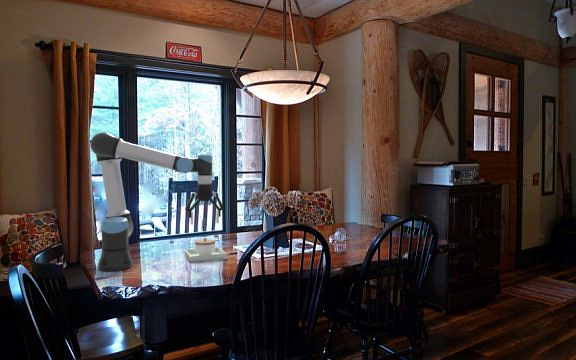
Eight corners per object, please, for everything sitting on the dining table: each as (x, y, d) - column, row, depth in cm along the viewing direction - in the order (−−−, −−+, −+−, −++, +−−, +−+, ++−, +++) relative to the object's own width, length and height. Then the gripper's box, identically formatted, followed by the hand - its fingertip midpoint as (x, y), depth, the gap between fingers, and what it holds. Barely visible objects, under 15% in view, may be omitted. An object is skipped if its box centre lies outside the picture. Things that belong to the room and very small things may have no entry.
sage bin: (190, 262, 206) (190, 256, 206) (184, 254, 223) (184, 249, 223) (226, 259, 213) (226, 253, 213) (218, 252, 230) (218, 246, 230)
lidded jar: (217, 253, 223) (217, 236, 222) (212, 258, 212) (212, 240, 212) (198, 253, 224) (198, 236, 223) (192, 257, 213) (191, 239, 213)
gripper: (226, 183, 225) (226, 221, 225) (179, 183, 215) (179, 223, 216) (229, 183, 218) (229, 223, 218) (181, 184, 208) (181, 225, 209)
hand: (204, 223), depth 217 cm, fingers open, 13 cm apart
